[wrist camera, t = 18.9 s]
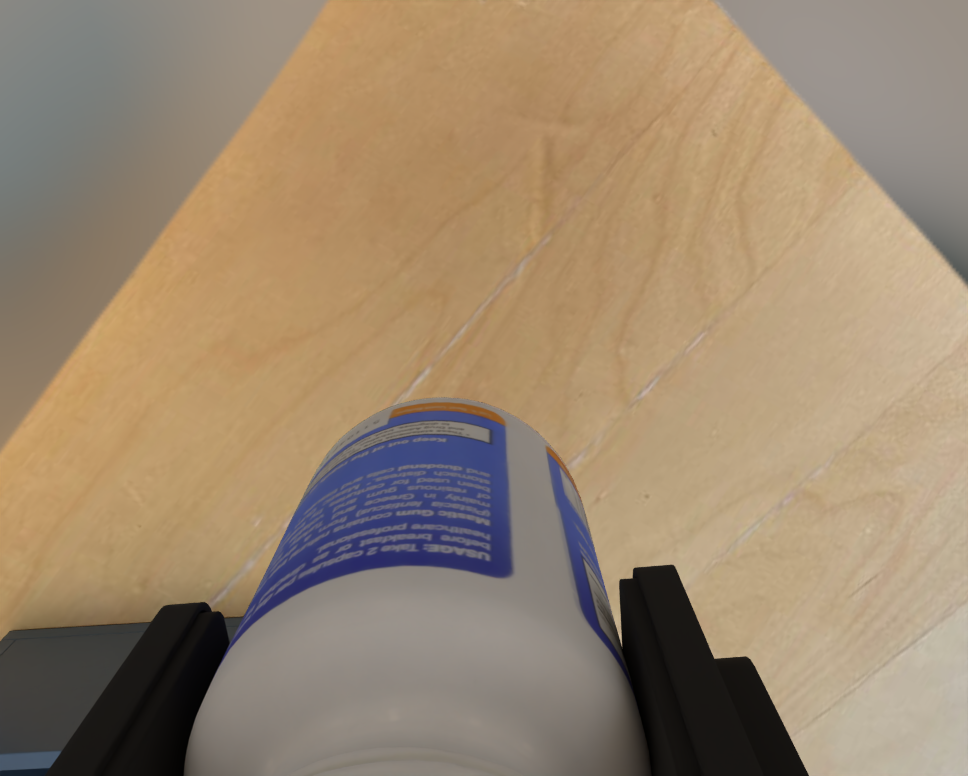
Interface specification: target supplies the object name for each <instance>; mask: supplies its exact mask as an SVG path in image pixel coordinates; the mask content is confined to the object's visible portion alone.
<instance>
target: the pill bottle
mask: <svg viewBox="0 0 968 776" xmlns="http://www.w3.org/2000/svg"><path fill="white" fill-rule="evenodd" d="M184 776H652V773H651V764H650V754H649V749H648V745H647V741H646V737H645V733H644V729H643V725H642V721H641V717H640V713H639V708H638V704H637V701H636V697H635V693H634V689H633V685H632V681H631V678H630V674H629V671H628V668H627V664H626V661H625V657H624V654H623V650H622V646H621V643H620V639H619V635H618V632H617V628H616V625H615V622H614V618H613V615H612V611H611V608H610V604H609V600H608V596H607V593H606V589H605V586H604V582H603V579H602V575H601V571H600V568H599V564H598V561H597V557H596V553H595V549H594V545H593V540H592V537H591V533H590V529H589V526H588V522H587V518H586V514H585V511H584V507H583V504H582V501H581V497H580V495H579V493H578V490H577V488H576V485H575V483H574V480H573V478H572V476H571V474H570V473H569V471H568V469H567V467H566V465H565V464H564V462H563V461H562V459H561V458H560V457H559V455H558V454H557V453H556V451H555V450H554V449H553V448H552V447H551V445H550V444H549V443H548V442H547V441H546V440H545V439H544V438H543V437H542V436H541V435H540V434H539V433H537V432H536V431H535V430H534V429H533V428H531V427H530V426H529V425H527V424H526V423H524V422H523V421H521V420H520V419H518V418H517V417H515V416H513V415H511V414H509V413H507V412H505V411H503V410H501V409H499V408H496V407H493V406H491V405H488V404H485V403H482V402H478V401H473V400H468V399H460V398H445V397H444V398H426V399H419V400H413V401H409V402H404V403H401V404H398V405H395V406H392V407H389V408H387V409H384V410H382V411H380V412H378V413H376V414H374V415H372V416H371V417H369V418H367V419H366V420H364V421H362V422H361V423H359V424H358V425H357V426H355V427H354V428H352V429H351V430H350V431H349V432H348V433H346V434H345V435H344V436H343V437H342V438H341V439H340V440H339V441H338V442H337V443H336V444H335V445H334V446H333V448H332V449H331V450H330V451H329V452H328V454H327V455H326V457H325V458H324V460H323V461H322V463H321V464H320V466H319V467H318V469H317V470H316V472H315V474H314V476H313V478H312V480H311V481H310V483H309V485H308V487H307V489H306V491H305V493H304V495H303V498H302V499H301V501H300V503H299V505H298V507H297V509H296V511H295V513H294V515H293V517H292V519H291V522H290V524H289V526H288V528H287V530H286V532H285V534H284V536H283V538H282V540H281V542H280V544H279V546H278V548H277V550H276V552H275V555H274V557H273V559H272V561H271V563H270V565H269V567H268V569H267V571H266V573H265V575H264V577H263V579H262V581H261V583H260V585H259V587H258V589H257V591H256V593H255V595H254V597H253V599H252V601H251V603H250V605H249V607H248V609H247V611H246V613H245V615H244V617H243V619H242V621H241V623H240V625H239V627H238V629H237V631H236V633H235V635H234V637H233V639H232V641H231V643H230V645H229V647H228V649H227V651H226V653H225V655H224V657H223V659H222V661H221V663H220V665H219V667H218V669H217V671H216V673H215V675H214V678H213V680H212V682H211V684H210V686H209V689H208V691H207V693H206V695H205V697H204V700H203V702H202V704H201V706H200V709H199V711H198V713H197V716H196V718H195V721H194V725H193V728H192V731H191V734H190V737H189V742H188V747H187V752H186V757H185V765H184Z"/></svg>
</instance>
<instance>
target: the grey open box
mask: <svg viewBox="0 0 968 776" xmlns="http://www.w3.org/2000/svg"><path fill="white" fill-rule="evenodd" d="M242 619H243V617H238V618H224V620H225V624H226V628H227V633H228V637H229V642H230V643H231V641H232V639H233V637H234V635H235V633H236V631H237V629H238V627H239V625H240V623H241V621H242ZM150 624H151V623H136V624H119V625H102V626H85V627H68V628H51V629H35V630H18V631H10V632H9V633H8V634H7V635H6V636H5V637H4V638H3V639H2V640H1V641H0V776H45V774H46V773H47V772H48V770H49V769H50V767H51V766H52V764H53V763H54V761H55V760H56V759H57V757H58V756H59V754H60V753H61V751H62V750H63V749H64V747H65V746H66V744H67V743H68V741H69V740H70V738H71V737H72V736H73V734H74V733H75V731H76V730H77V728H78V727H79V726H80V724H81V723H82V721H83V720H84V718H85V717H86V715H87V714H88V713H89V711H90V710H91V708H92V707H93V705H94V704H95V703H96V701H97V700H98V698H99V697H100V695H101V694H102V692H103V691H104V690H105V688H106V687H107V685H108V684H109V682H110V681H111V680H112V678H113V677H114V675H115V674H116V672H117V671H118V669H119V668H120V667H121V665H122V664H123V662H124V661H125V659H126V658H127V657H128V655H129V654H130V652H131V651H132V649H133V648H134V647H135V645H136V644H137V642H138V641H139V639H140V638H141V636H142V635H143V634H144V632H145V631H146V629H147V628H148V626H149V625H150Z"/></svg>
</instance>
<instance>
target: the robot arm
mask: <svg viewBox="0 0 968 776" xmlns="http://www.w3.org/2000/svg"><path fill="white" fill-rule="evenodd" d="M619 590H620V610H621V630H622V650H623V654H624V657H625V661H626V664H627V668H628V671H629V674H630V678H631V681H632V685H633V689H634V693H635V697H636V701H637V704H638V708H639V713H640V717H641V721H642V725H643V729H644V733H645V737H646V741H647V745H648V749H649V754H650V764H651V773H652V776H809V775H808V773H807V771H806V769H805V767H804V765H803V763H802V761H801V759H800V757H799V755H798V753H797V751H796V749H795V747H794V745H793V743H792V741H791V739H790V736H789V734H788V732H787V730H786V728H785V726H784V724H783V722H782V720H781V718H780V716H779V714H778V712H777V710H776V708H775V706H774V704H773V702H772V700H771V698H770V696H769V694H768V692H767V690H766V688H765V686H764V684H763V682H762V680H761V678H760V676H759V674H758V672H757V670H756V668H755V666H754V665H753V663H752V661H751V660H750V659H749V658H747V657H733V658H720V659H714V657H713V655H712V652H711V650H710V648H709V645H708V643H707V641H706V638H705V636H704V634H703V631H702V629H701V627H700V624H699V622H698V620H697V617H696V615H695V613H694V610H693V608H692V605H691V603H690V601H689V598H688V596H687V594H686V591H685V589H684V587H683V584H682V582H681V580H680V577H679V575H678V573H677V570H676V568H675V566H674V565H663V566H650V567H638V568H634V569H633V578H632V579H620V583H619ZM229 645H230V642H229V637H228V633H227V628H226V624H225V620H224V617H223V615H222V613H221V612H219V611H217V612H212V610H211V608H210V607H209V605H208V604H207V603H205V602H200V603H188V604H175V605H166V606H163V607H162V608H161V609H160V611H159V612H158V613H157V615H156V616H155V618H154V619H153V621H152V622H151V624H150V625H149V626H148V628H147V629H146V631H145V632H144V634H143V635H142V636H141V638H140V639H139V641H138V642H137V644H136V645H135V647H134V648H133V649H132V651H131V652H130V654H129V655H128V657H127V658H126V659H125V661H124V662H123V664H122V665H121V667H120V668H119V669H118V671H117V672H116V674H115V675H114V677H113V678H112V680H111V681H110V682H109V684H108V685H107V687H106V688H105V690H104V691H103V692H102V694H101V695H100V697H99V698H98V700H97V701H96V703H95V704H94V705H93V707H92V708H91V710H90V711H89V713H88V714H87V715H86V717H85V718H84V720H83V721H82V723H81V724H80V726H79V727H78V728H77V730H76V731H75V733H74V734H73V736H72V737H71V738H70V740H69V741H68V743H67V744H66V746H65V747H64V749H63V750H62V751H61V753H60V754H59V756H58V757H57V759H56V760H55V761H54V763H53V764H52V766H51V767H50V769H49V770H48V772H47V773H46V774H45V776H184V765H185V757H186V752H187V747H188V742H189V737H190V734H191V731H192V728H193V725H194V721H195V718H196V716H197V713H198V711H199V709H200V706H201V704H202V702H203V700H204V697H205V695H206V693H207V691H208V689H209V686H210V684H211V682H212V680H213V678H214V675H215V673H216V671H217V669H218V667H219V665H220V663H221V661H222V659H223V657H224V655H225V653H226V651H227V649H228V647H229Z"/></svg>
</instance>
